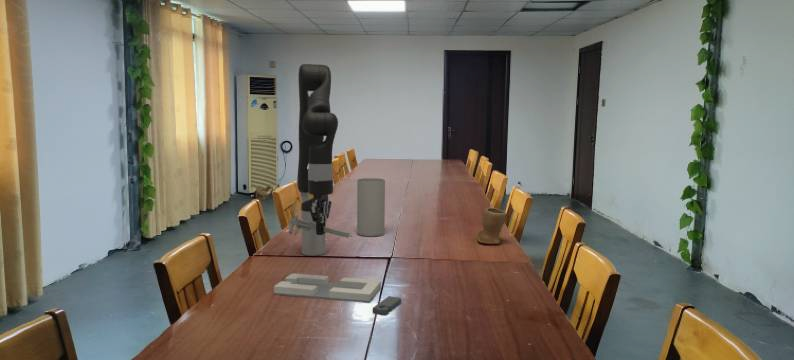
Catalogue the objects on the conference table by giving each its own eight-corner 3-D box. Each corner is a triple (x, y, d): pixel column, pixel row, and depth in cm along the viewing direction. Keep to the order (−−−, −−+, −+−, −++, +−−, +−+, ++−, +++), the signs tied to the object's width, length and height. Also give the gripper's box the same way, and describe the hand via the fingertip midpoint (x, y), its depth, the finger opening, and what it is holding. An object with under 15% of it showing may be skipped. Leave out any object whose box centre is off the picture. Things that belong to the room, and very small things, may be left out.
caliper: (289, 235, 171) (288, 214, 170) (290, 234, 172) (289, 214, 171) (352, 237, 166) (352, 217, 166) (353, 237, 168) (353, 216, 167)
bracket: (401, 304, 161) (401, 297, 160) (385, 317, 151) (385, 309, 150) (388, 302, 162) (388, 295, 162) (372, 314, 152) (372, 307, 152)
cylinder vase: (383, 237, 245) (384, 181, 242) (355, 236, 245) (356, 181, 242) (384, 231, 257) (385, 178, 254) (358, 230, 257) (358, 178, 254)
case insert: (292, 280, 180) (292, 273, 180) (381, 288, 174) (381, 280, 174) (274, 294, 166) (274, 286, 166) (369, 302, 160) (369, 294, 160)
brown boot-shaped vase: (505, 246, 231) (507, 211, 229) (477, 245, 232) (478, 210, 230) (502, 238, 246) (504, 205, 244) (476, 237, 247) (477, 204, 245)
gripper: (317, 175, 175) (317, 229, 177) (300, 180, 162) (300, 238, 163) (339, 176, 173) (339, 230, 175) (324, 181, 160) (324, 239, 162)
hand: (320, 234), depth 169 cm, fingers closed on caliper, 1 cm apart
